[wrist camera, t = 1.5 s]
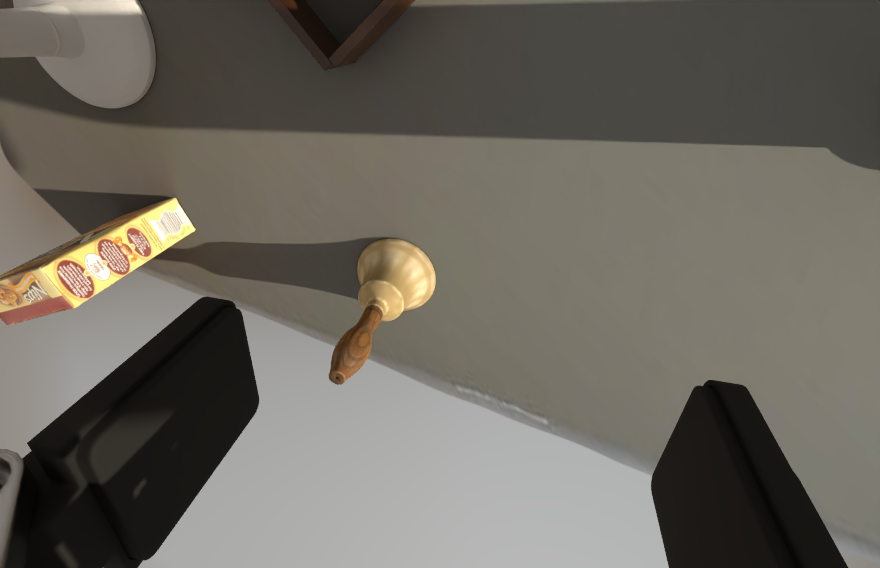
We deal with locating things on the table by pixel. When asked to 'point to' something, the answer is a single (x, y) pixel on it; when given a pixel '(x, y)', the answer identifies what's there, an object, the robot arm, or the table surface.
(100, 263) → the candy box
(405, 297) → the hand bell
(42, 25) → the candlestick
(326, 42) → the walnut caddy
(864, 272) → the table surface
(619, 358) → the table surface
